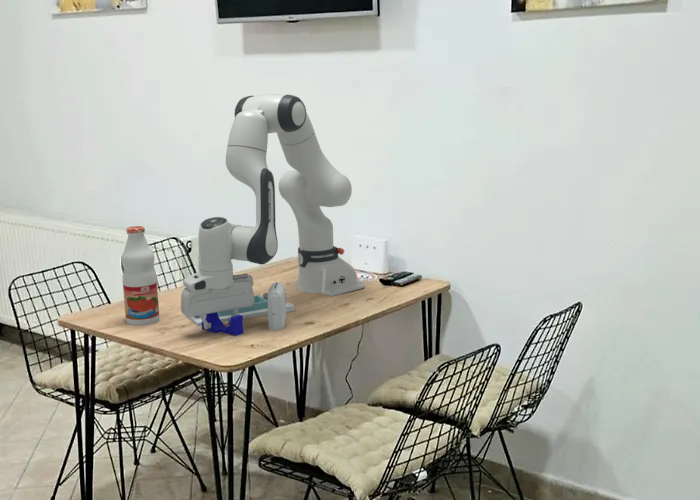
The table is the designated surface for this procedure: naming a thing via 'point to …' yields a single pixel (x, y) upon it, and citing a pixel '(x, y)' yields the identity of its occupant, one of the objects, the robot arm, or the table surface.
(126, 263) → the fruit juice
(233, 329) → the blue curved cradle
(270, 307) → the photo printer
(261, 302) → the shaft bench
